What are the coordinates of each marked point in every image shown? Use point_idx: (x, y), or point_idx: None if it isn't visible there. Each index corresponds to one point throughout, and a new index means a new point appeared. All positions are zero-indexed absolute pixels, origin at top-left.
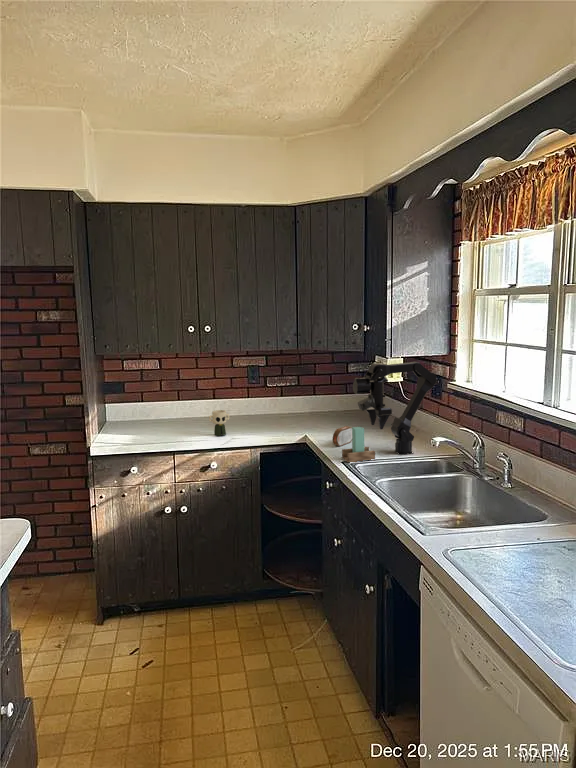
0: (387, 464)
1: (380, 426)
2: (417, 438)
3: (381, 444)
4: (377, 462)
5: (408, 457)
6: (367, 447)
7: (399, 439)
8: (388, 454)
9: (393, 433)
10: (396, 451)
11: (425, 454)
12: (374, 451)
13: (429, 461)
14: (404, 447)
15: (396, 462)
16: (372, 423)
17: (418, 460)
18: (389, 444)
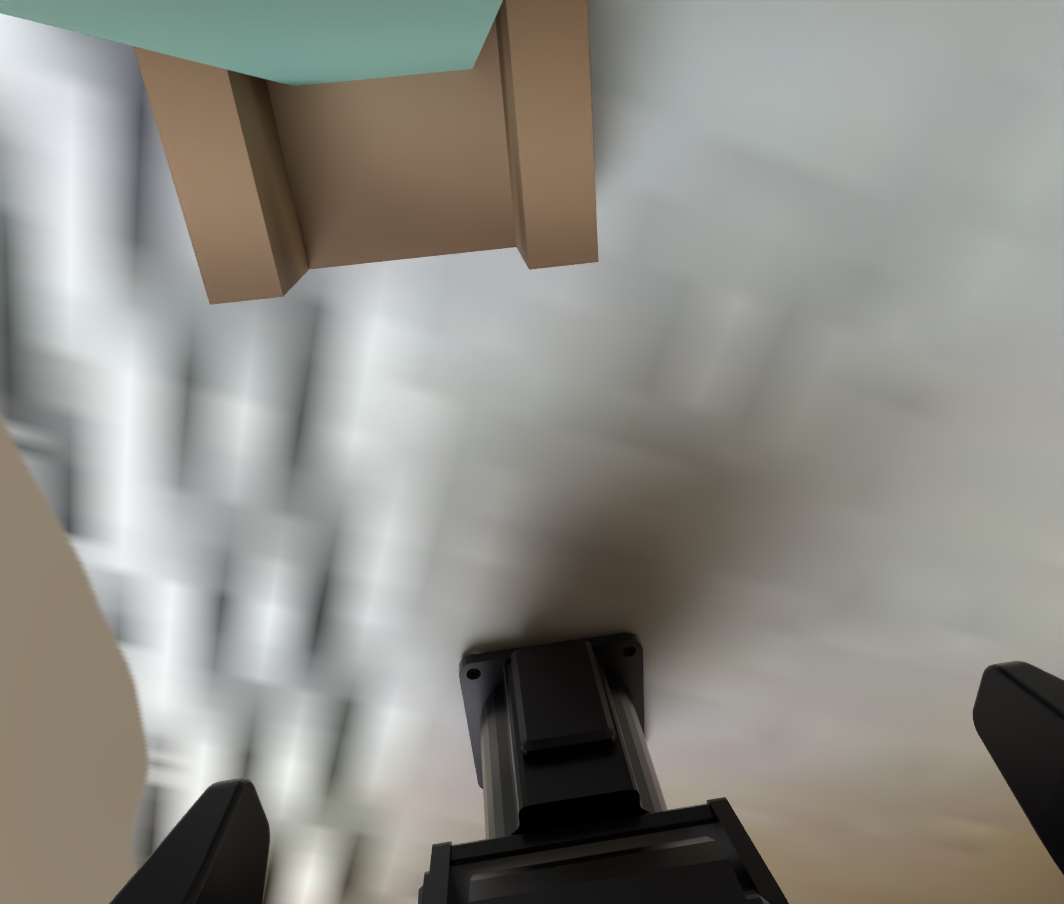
0: (3, 390)
1: (122, 899)
2: (993, 898)
3: (1006, 571)
4: (127, 272)
5: (344, 704)
6: (544, 245)
7: (593, 821)
8: (536, 536)
9: (673, 851)
10: (550, 648)
11: (429, 857)
12: (207, 295)
13: (147, 841)
14: (485, 769)
15: (117, 532)
16: (1024, 718)
17: (198, 764)
18: (953, 649)
